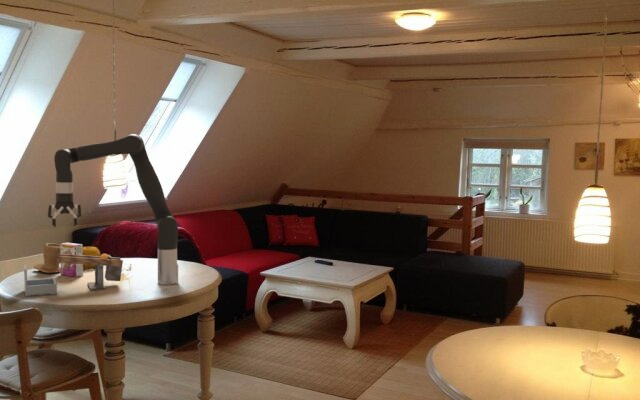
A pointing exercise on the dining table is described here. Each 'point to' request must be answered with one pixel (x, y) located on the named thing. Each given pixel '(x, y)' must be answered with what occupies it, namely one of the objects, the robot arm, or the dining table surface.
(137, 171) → the robot arm
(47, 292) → the grey tray
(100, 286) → the lever stand
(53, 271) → the brown top hat
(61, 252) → the candy bar box
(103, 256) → the ball
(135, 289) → the dining table surface
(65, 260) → the lever
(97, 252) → the yellow pumpkin
